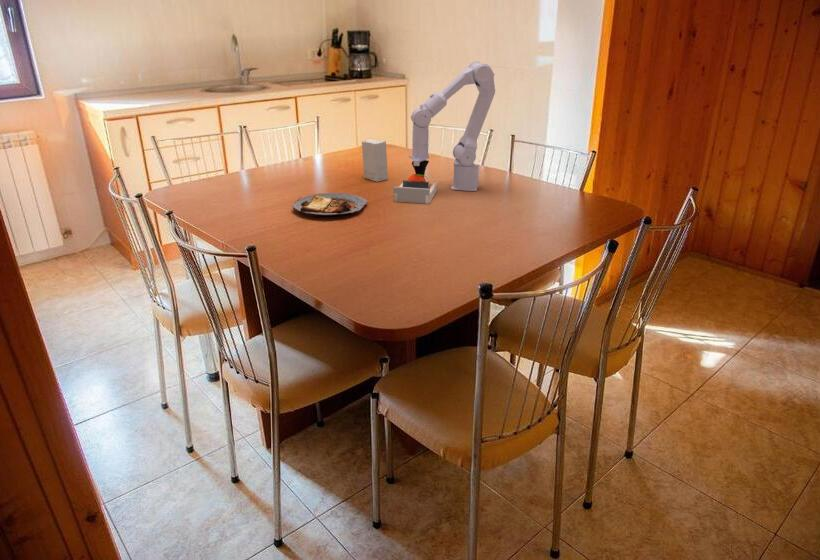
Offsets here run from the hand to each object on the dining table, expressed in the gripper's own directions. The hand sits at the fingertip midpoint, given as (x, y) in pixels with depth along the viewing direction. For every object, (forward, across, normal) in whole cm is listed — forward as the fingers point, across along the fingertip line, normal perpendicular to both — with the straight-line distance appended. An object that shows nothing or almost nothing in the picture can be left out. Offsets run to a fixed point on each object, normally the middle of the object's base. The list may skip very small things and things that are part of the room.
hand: (420, 180), depth 215 cm
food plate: (+4, +28, -25) cm, 38 cm away
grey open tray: (+3, +8, 0) cm, 8 cm away
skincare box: (+4, -11, -20) cm, 23 cm away
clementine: (+4, +4, 0) cm, 5 cm away
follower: (+3, +8, 0) cm, 9 cm away
